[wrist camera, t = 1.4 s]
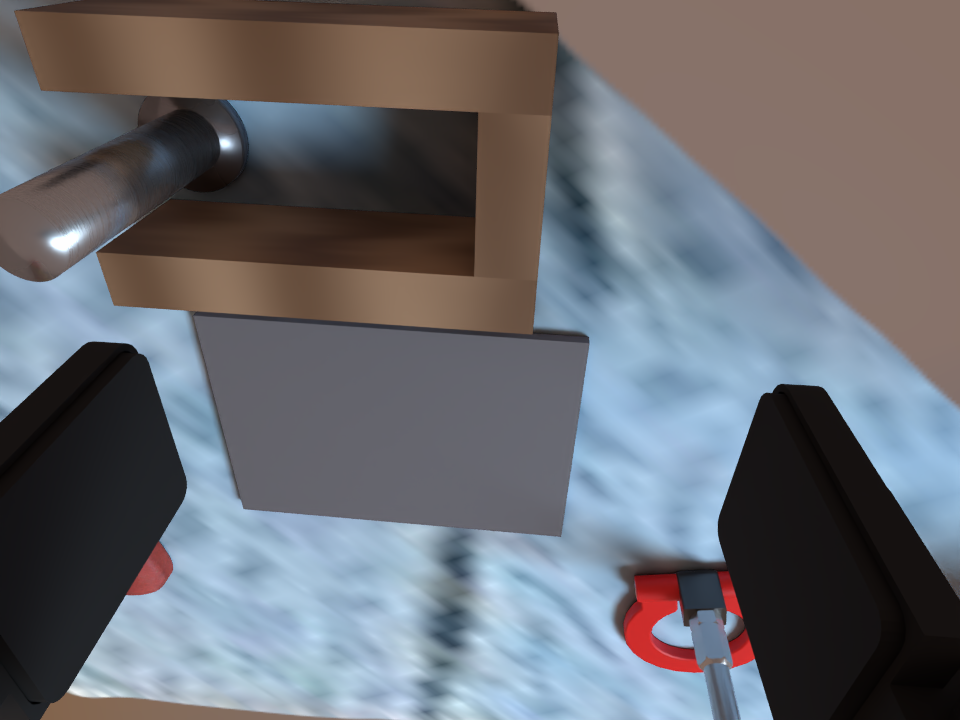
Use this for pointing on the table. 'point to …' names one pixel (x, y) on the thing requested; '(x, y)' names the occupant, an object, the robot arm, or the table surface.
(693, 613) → the tow hook
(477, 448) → the mat
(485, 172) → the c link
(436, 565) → the table surface
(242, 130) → the post
